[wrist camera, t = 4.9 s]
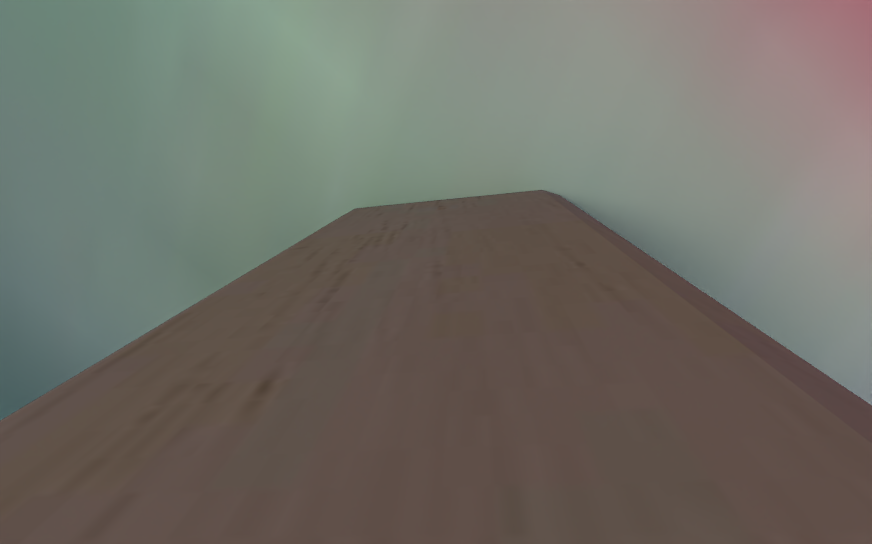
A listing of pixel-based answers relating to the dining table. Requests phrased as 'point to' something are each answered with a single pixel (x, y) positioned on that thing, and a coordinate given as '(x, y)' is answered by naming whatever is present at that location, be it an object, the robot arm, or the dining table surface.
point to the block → (446, 403)
